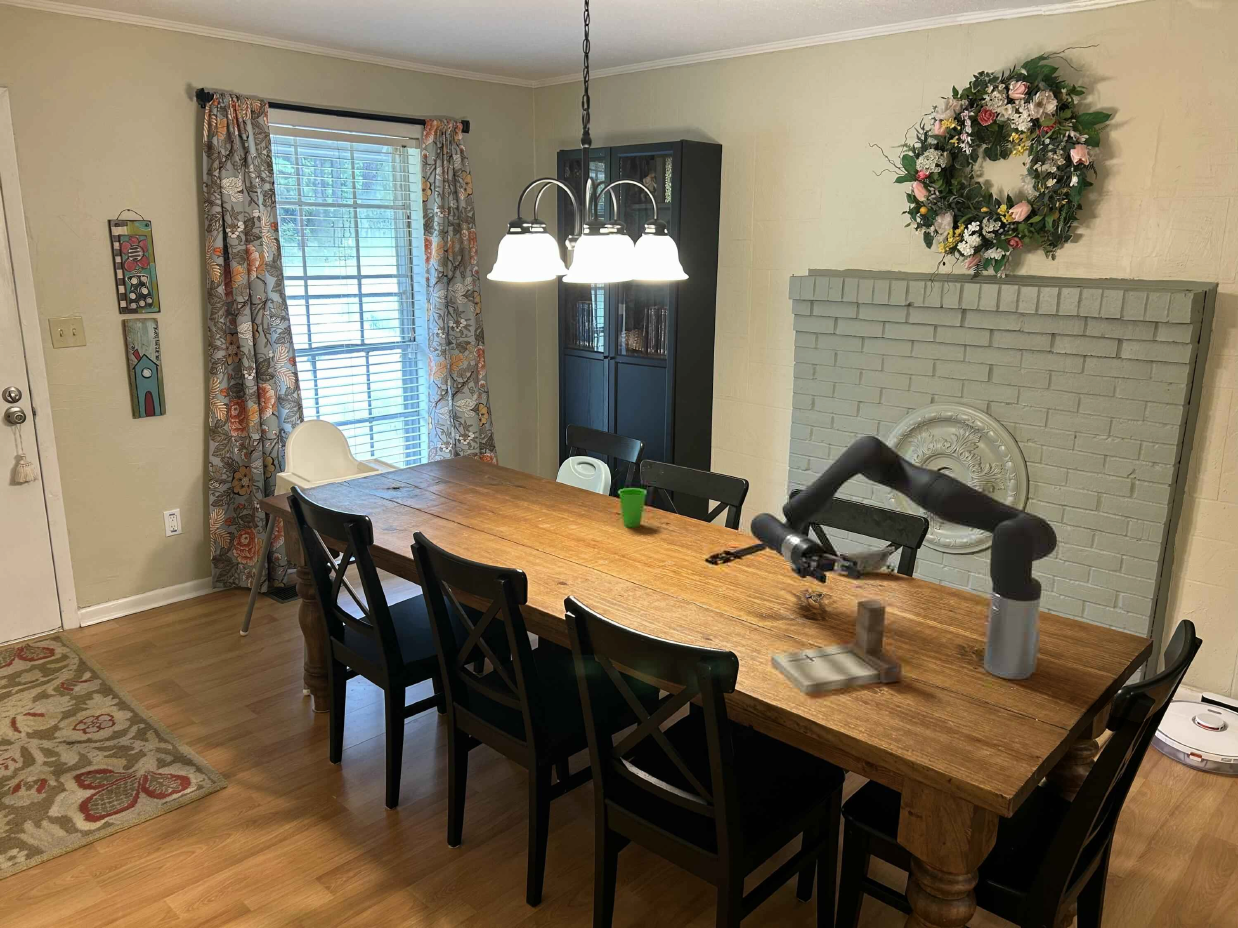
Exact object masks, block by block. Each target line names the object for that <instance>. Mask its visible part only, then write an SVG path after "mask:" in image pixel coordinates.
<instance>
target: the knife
mask: <svg viewBox="0 0 1238 928" xmlns="http://www.w3.org/2000/svg"><path fill="white" fill-rule="evenodd" d="M765 548H766V546H765V545H764V544H763V543H755V544H753V545H750V546H747V547H743V548H741V549H737V550H733V551H731V550H727V549H724V550H723V551H722V552H719V553H718V552H717V553H714V554H710V555H709V556H708V557H706V558H705V559H704V562H705V563H708V564H710V565H714V566H716V565H718V564H719V563H718V562H720V561H722V564H724V563H728V562H731V560H732V558H733V559H739V560H741V559H742V556H744V555H748V554H750V553H754V552H756V551H760V550H762V549H765ZM724 555H725V556H724Z"/></svg>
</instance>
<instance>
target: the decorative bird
mask: <svg viewBox="0 0 1238 928" xmlns="http://www.w3.org/2000/svg"><path fill="white" fill-rule="evenodd" d="M895 551H896V549H895V546H888V547H884V548H879V549H869V550H862V551H857V552H847V553H843V554H844V555H846V556H848V557H850V558H852V559H854V560H856V561H857V562H858V564H857V569H859V570H860V574H868V573H872V572H876V571H879V570H881V569H883V568H884V567H885V569H886V571H889V573H891V572H893V573H894V572H895V567H896V566H897V565H894V566H893V568H891V564H892V562H889V564H888V561H889V559H890V555H891V553H894V552H895ZM837 567H838V563H836V568H837ZM842 569H845V570H846V568H844V567H842Z"/></svg>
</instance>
